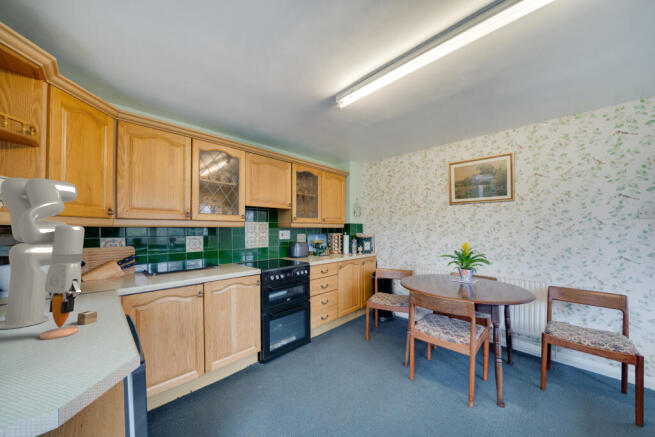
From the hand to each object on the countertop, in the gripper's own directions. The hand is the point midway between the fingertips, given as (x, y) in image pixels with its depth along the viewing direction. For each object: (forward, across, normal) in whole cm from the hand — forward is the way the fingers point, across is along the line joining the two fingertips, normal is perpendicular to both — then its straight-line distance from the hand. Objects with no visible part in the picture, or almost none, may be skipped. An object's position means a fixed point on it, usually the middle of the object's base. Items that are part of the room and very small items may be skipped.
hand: (61, 311), depth 85 cm
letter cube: (+8, -5, +11) cm, 14 cm away
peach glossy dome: (+8, 0, 0) cm, 8 cm away
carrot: (+6, 0, 0) cm, 6 cm away
